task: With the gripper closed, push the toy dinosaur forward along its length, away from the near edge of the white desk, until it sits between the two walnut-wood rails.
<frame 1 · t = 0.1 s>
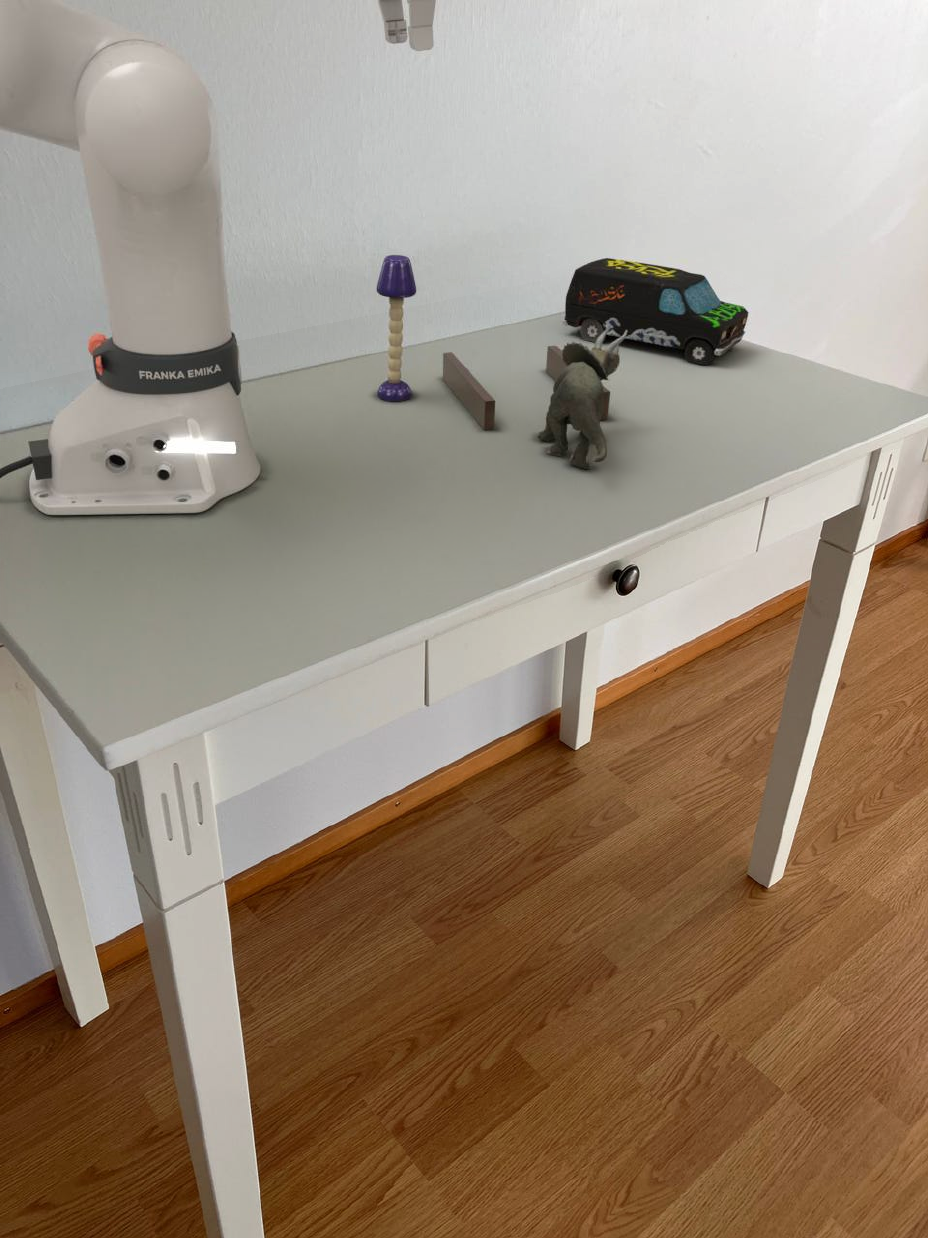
hand: (408, 46, 91), 39 cm above the table, tool pointing down, fingers open, 8 cm apart
walnut rails: (521, 398, 127), on the table
toy lamp: (396, 398, 127), on the table
toy dinosaur: (571, 453, 113), on the table
toy van: (651, 344, 148), on the table
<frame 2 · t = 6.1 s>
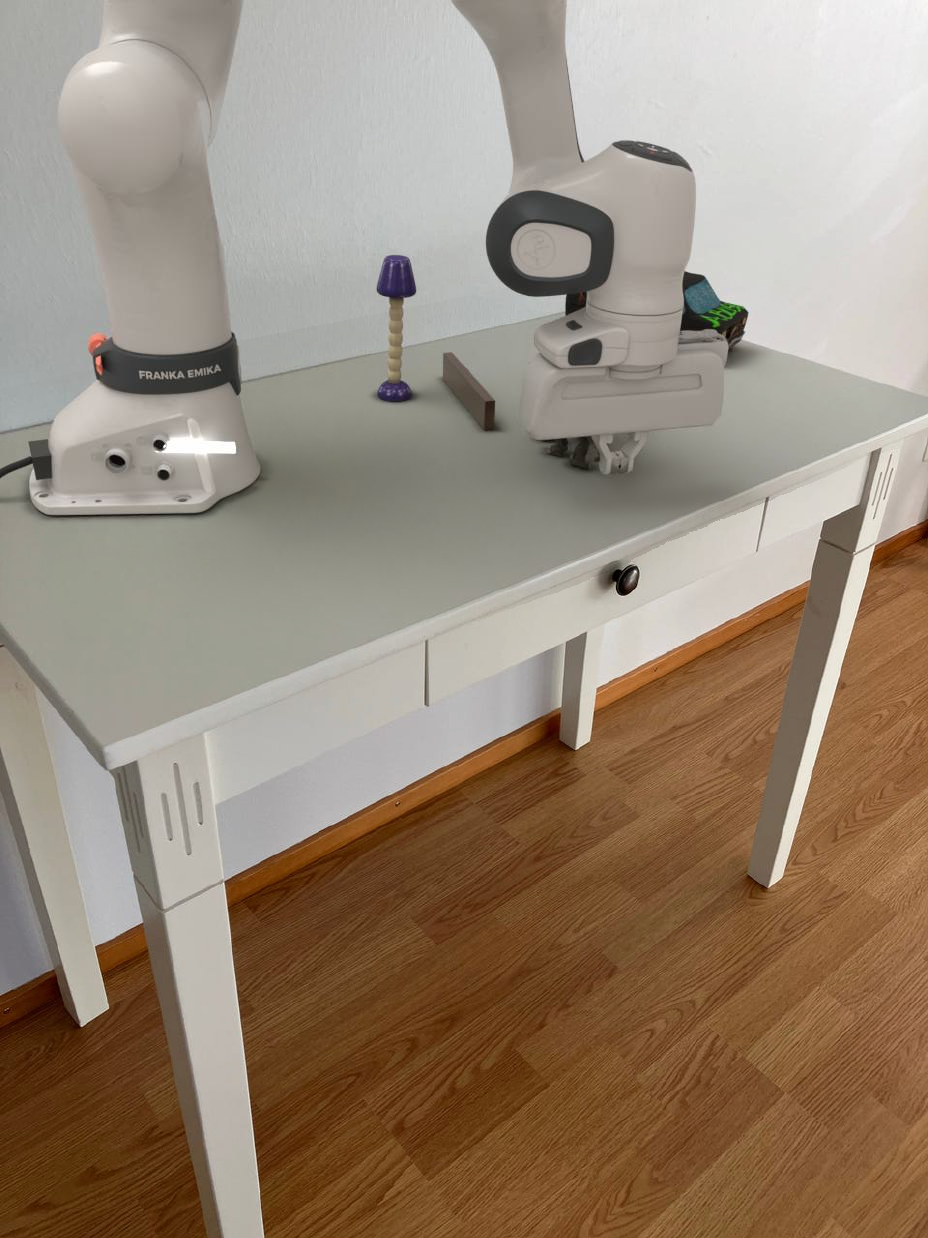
hand: (615, 471, 103), 3 cm above the table, tool pointing down, fingers closed
toy dinosaur: (571, 452, 113), on the table, touching gripper
everything else where it was.
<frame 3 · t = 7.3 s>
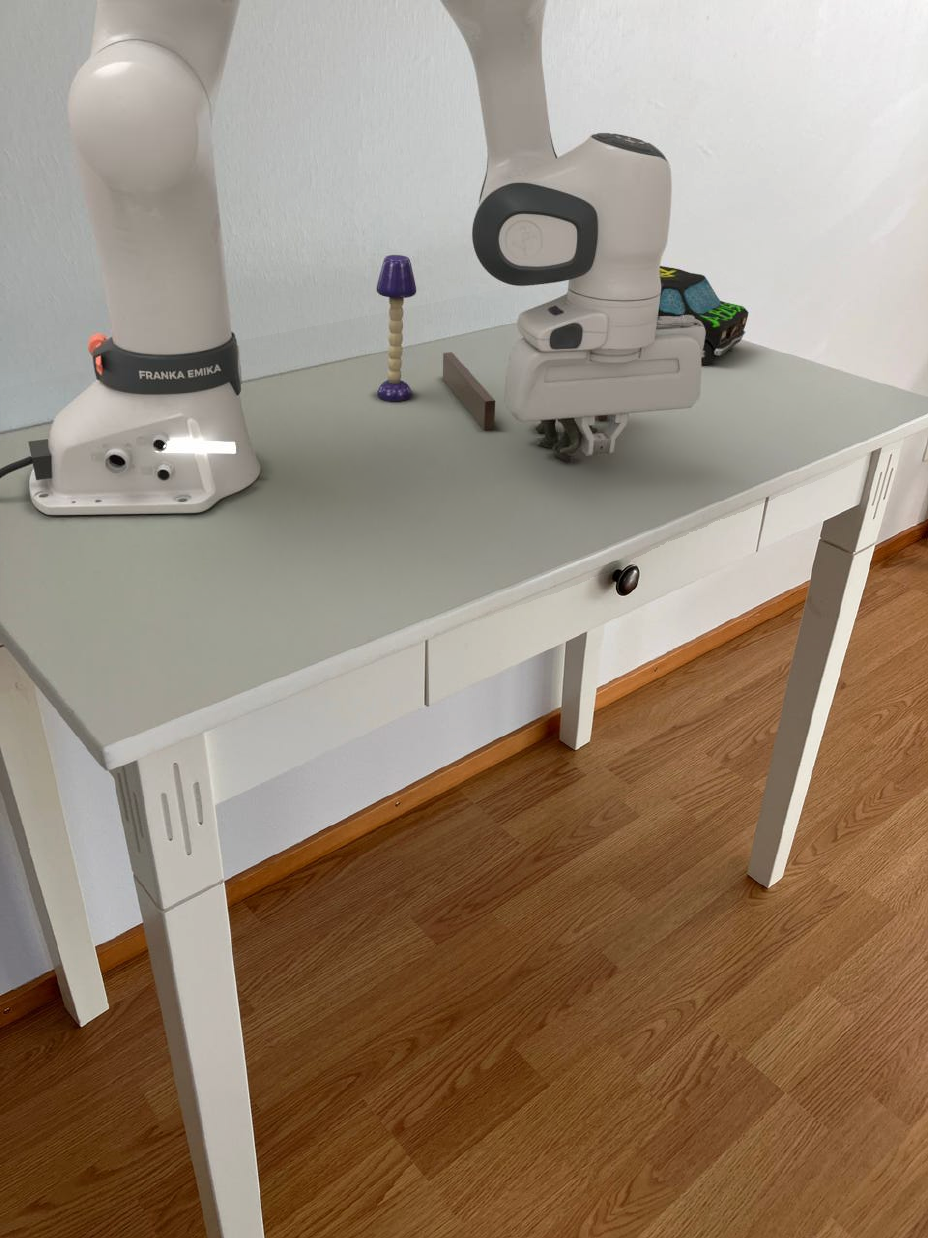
hand: (597, 452, 107), 3 cm above the table, tool pointing down, fingers closed
toy dinosaur: (563, 445, 115), on the table, touching gripper
everything else where it was.
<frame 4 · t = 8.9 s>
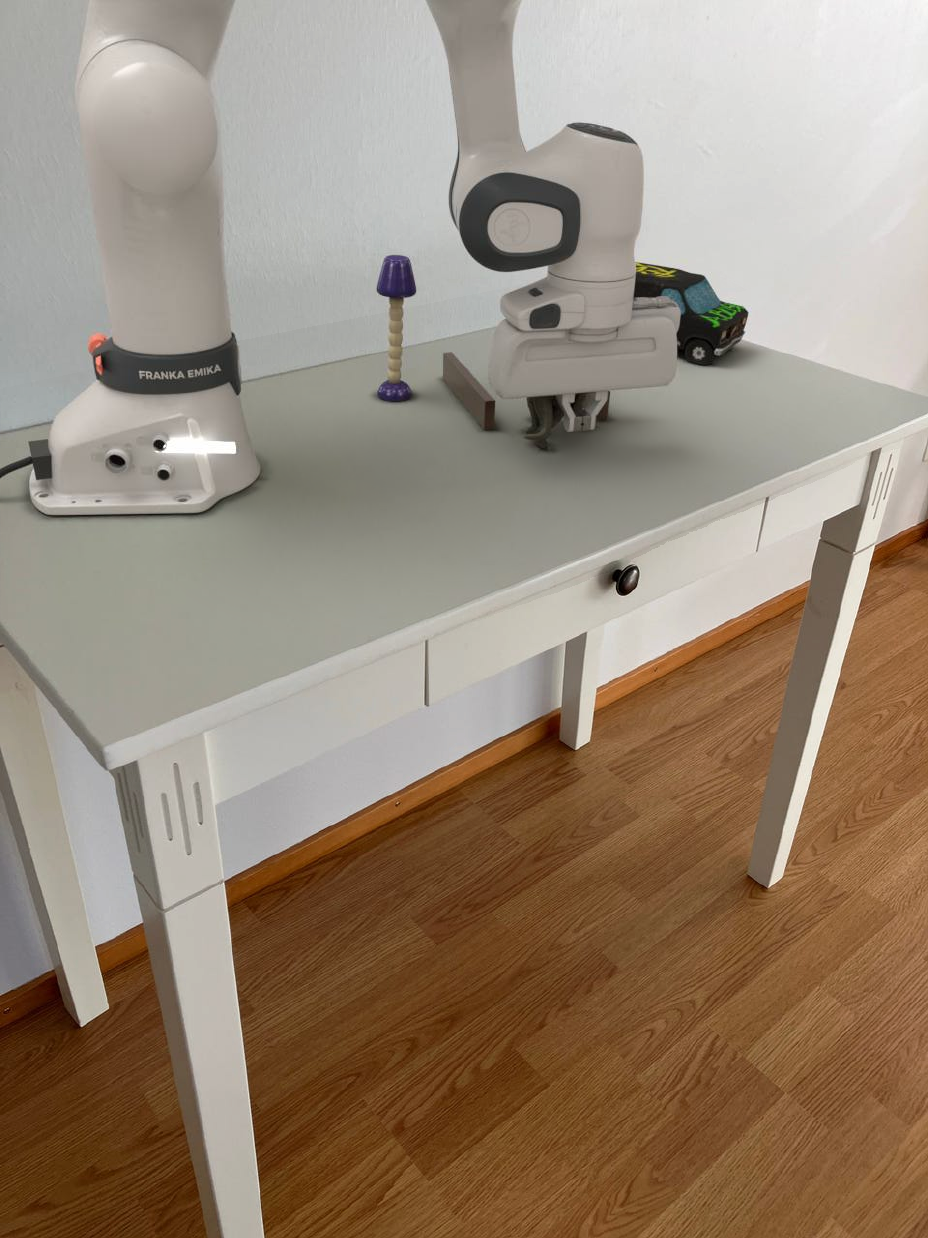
hand: (578, 429, 111), 3 cm above the table, tool pointing down, fingers closed
toy dinosaur: (551, 435, 118), on the table, touching gripper
everything else where it was.
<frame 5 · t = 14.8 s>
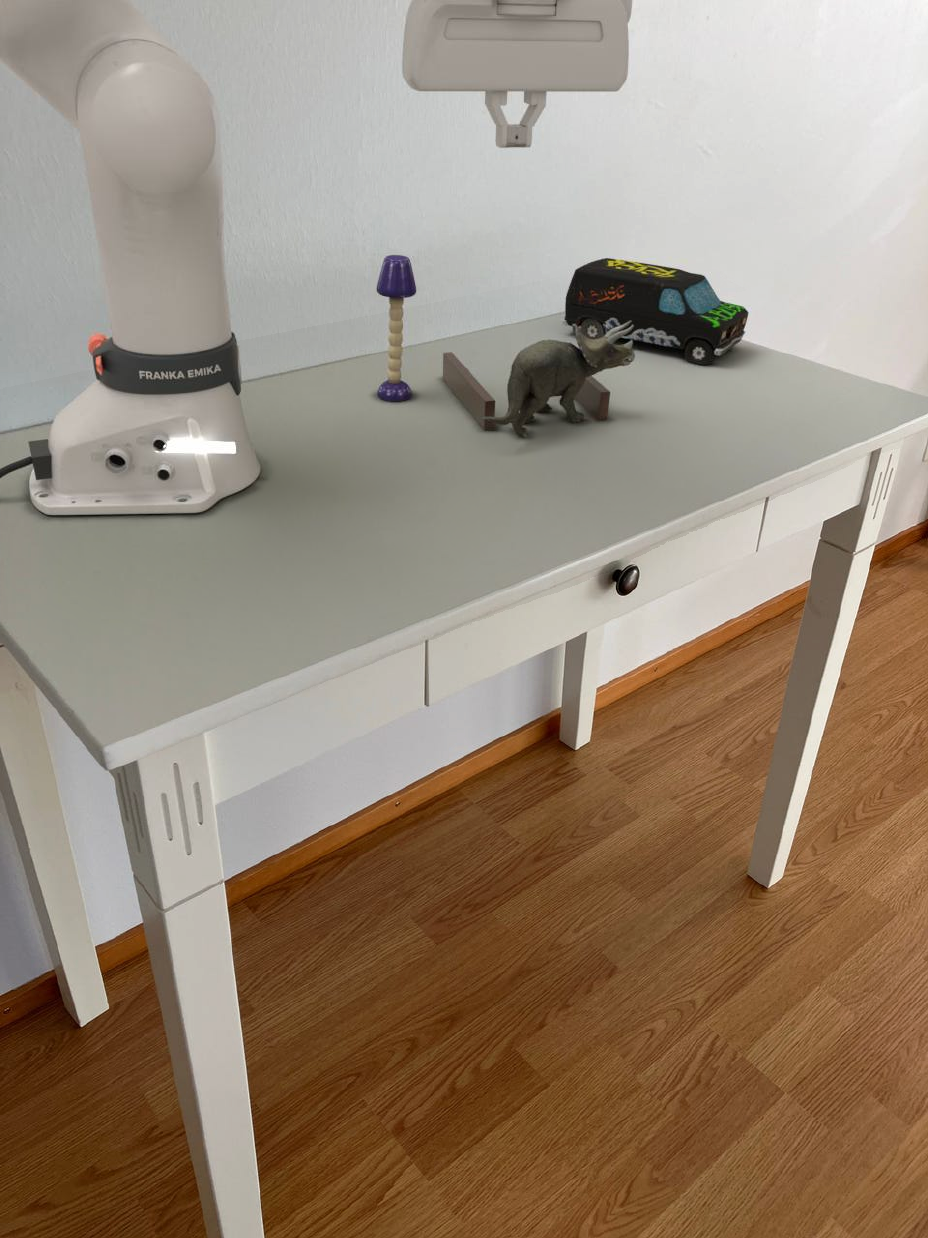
hand: (513, 146, 94), 31 cm above the table, tool pointing down, fingers closed
toy dinosaur: (539, 424, 120), on the table
everything else where it was.
at the end: toy dinosaur inside the target area (4.3 cm from its centre), on the table; toy dinosaur moved 8.7 cm from its start; toy dinosaur tilted 0° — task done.
